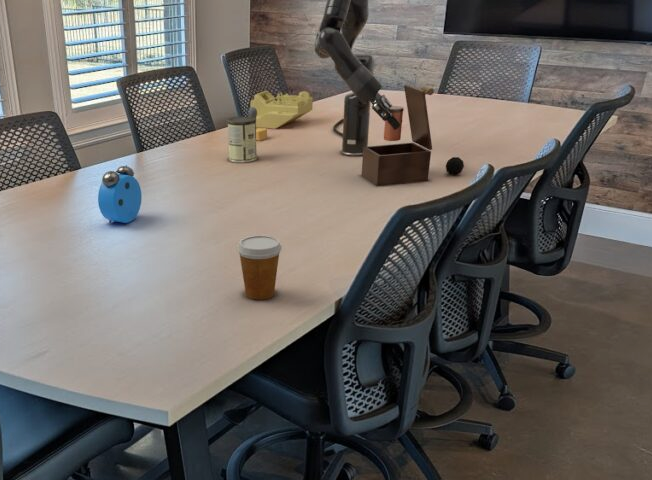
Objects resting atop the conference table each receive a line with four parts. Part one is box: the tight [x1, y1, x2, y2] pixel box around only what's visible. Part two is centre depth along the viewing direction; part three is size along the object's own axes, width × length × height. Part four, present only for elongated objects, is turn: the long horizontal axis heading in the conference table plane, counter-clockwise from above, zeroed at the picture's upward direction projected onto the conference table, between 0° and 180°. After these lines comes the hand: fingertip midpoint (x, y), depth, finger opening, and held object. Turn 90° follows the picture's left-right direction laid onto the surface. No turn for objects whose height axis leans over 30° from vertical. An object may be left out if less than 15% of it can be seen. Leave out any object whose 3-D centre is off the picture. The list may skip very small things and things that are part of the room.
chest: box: [361, 142, 432, 187], centre depth 232 cm, size 17×13×9 cm
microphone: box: [445, 156, 465, 176], centre depth 240 cm, size 6×6×20 cm
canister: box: [383, 105, 405, 142], centre depth 225 cm, size 5×5×10 cm
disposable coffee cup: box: [236, 235, 283, 301], centre depth 156 cm, size 10×10×12 cm
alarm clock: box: [97, 164, 142, 225], centre depth 203 cm, size 13×6×15 cm, turn 151°
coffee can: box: [227, 115, 258, 164], centre depth 260 cm, size 10×10×14 cm
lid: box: [403, 84, 435, 151], centre depth 226 cm, size 18×13×6 cm
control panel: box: [250, 90, 314, 130], centre depth 312 cm, size 24×16×20 cm
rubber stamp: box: [248, 106, 268, 142], centre depth 289 cm, size 10×6×12 cm, turn 53°
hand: (399, 125), depth 225 cm, fingers closed on canister, 5 cm apart
